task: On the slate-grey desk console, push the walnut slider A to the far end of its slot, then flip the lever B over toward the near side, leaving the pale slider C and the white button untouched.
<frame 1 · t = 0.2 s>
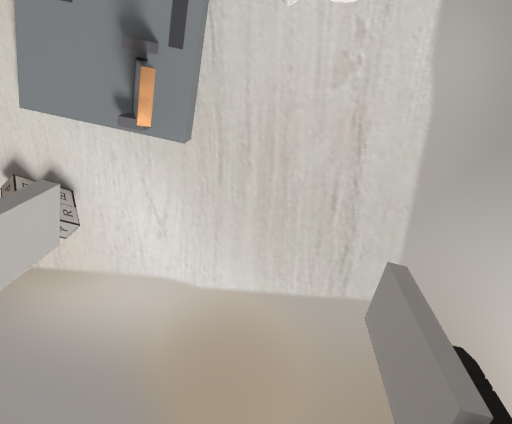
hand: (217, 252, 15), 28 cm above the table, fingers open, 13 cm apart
building blocks: (55, 197, 46), on the table
lever b: (142, 90, 33), point 7 cm above the table, hinge at -25.0°
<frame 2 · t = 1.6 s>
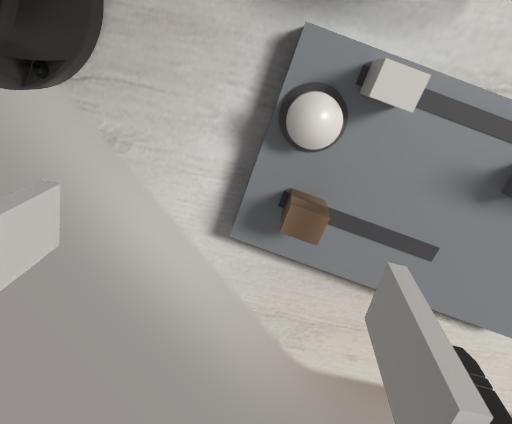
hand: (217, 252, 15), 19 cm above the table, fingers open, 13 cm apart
button d: (313, 119, 27), point 4 cm above the table, slide at 0.0 cm
slider c: (391, 85, 25), point 5 cm above the table, slide at 0.0 cm
panel: (416, 191, 32), on the table
slider a: (303, 215, 29), point 5 cm above the table, slide at 0.0 cm
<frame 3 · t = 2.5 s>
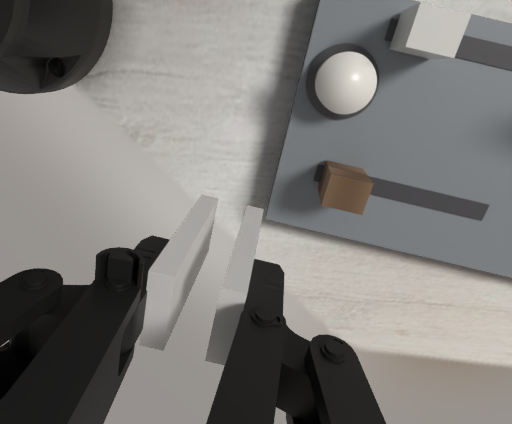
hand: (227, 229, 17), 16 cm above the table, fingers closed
button d: (344, 83, 26), point 4 cm above the table, slide at 0.0 cm
slider c: (426, 33, 23), point 5 cm above the table, slide at 0.0 cm
panel: (456, 149, 30), on the table
slider a: (343, 186, 28), point 5 cm above the table, slide at 0.0 cm
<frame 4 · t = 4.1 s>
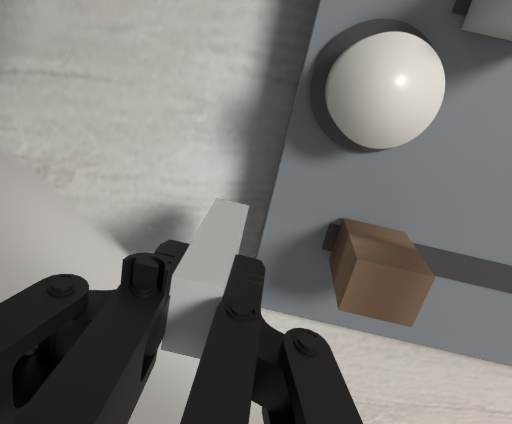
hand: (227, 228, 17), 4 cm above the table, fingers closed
button d: (380, 91, 14), point 4 cm above the table, slide at 0.0 cm
slider a: (374, 267, 16), point 5 cm above the table, slide at 0.0 cm
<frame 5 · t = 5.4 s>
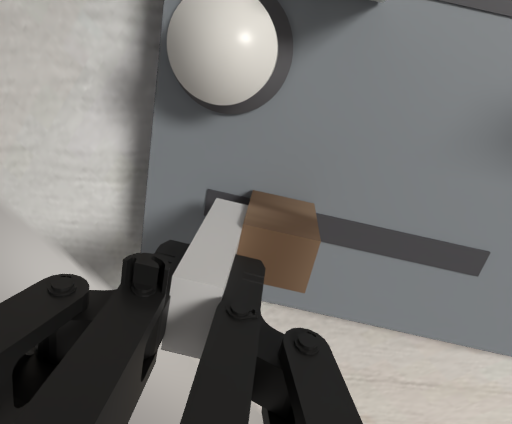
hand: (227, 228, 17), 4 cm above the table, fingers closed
button d: (225, 48, 14), point 4 cm above the table, slide at 0.0 cm
panel: (436, 160, 19), on the table
slider a: (276, 237, 16), point 5 cm above the table, slide at 1.6 cm, touching gripper
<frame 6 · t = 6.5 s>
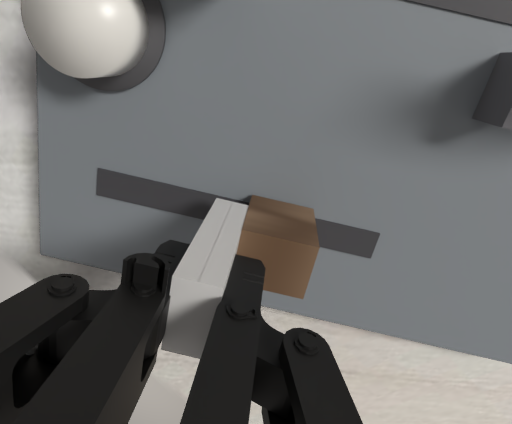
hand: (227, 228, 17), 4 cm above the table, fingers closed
button d: (88, 22, 14), point 4 cm above the table, slide at 0.0 cm
panel: (333, 142, 19), on the table
slider a: (275, 242, 16), point 5 cm above the table, slide at 7.1 cm, touching gripper
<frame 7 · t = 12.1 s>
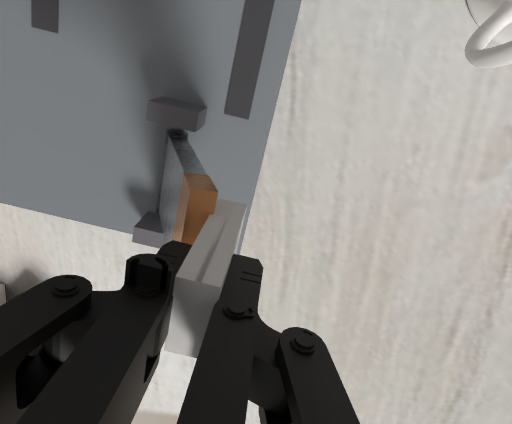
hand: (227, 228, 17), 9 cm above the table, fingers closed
lever b: (180, 199, 18), point 7 cm above the table, hinge at -22.7°, touching gripper
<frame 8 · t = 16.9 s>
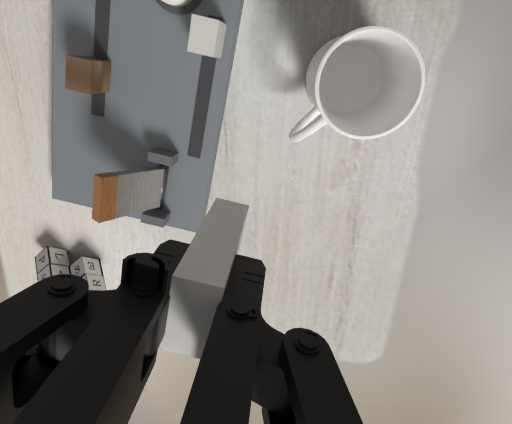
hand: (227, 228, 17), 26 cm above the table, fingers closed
slider c: (207, 37, 34), point 5 cm above the table, slide at 0.0 cm
mug: (333, 89, 39), on the table
panel: (144, 94, 41), on the table
building blocks: (82, 263, 50), on the table
lever b: (134, 191, 38), point 6 cm above the table, hinge at 29.4°
slider a: (89, 74, 36), point 5 cm above the table, slide at 7.7 cm
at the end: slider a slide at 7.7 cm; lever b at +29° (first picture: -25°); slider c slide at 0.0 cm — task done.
